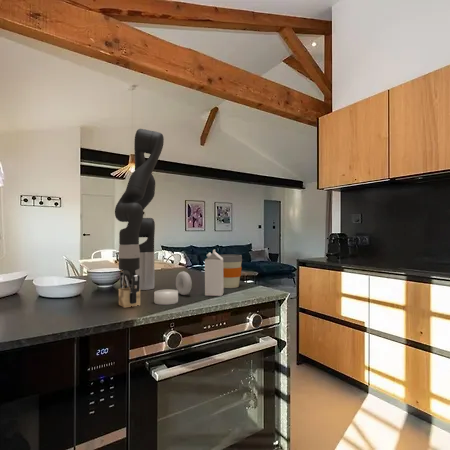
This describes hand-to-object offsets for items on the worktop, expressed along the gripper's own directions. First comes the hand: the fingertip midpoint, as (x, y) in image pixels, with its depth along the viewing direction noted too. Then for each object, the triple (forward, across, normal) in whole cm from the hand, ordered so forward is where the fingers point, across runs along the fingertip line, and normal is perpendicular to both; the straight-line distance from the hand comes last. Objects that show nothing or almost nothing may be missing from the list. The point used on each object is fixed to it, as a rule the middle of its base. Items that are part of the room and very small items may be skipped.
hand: (129, 301), depth 126 cm
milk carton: (+1, -3, -36) cm, 36 cm away
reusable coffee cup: (+1, +9, -53) cm, 54 cm away
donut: (+1, +4, -25) cm, 25 cm away
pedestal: (+1, -4, -13) cm, 14 cm away
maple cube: (+1, 0, 0) cm, 1 cm away
